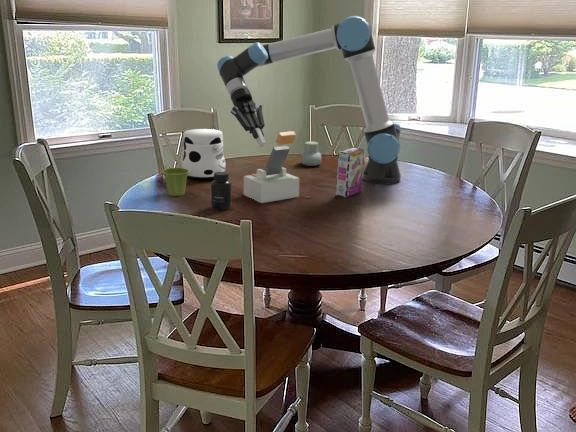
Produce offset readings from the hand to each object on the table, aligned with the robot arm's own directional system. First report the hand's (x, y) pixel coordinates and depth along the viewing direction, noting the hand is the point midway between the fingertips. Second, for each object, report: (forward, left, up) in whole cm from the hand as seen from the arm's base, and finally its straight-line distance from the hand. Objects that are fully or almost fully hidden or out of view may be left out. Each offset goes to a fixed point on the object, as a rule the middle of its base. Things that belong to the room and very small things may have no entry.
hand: (262, 144), depth 214 cm
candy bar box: (-27, -16, -18) cm, 37 cm away
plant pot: (+24, +21, -18) cm, 36 cm away
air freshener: (+7, -49, -18) cm, 53 cm away
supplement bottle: (+1, +25, -18) cm, 30 cm away
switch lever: (-5, +3, -9) cm, 11 cm away
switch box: (-5, +3, -18) cm, 19 cm away
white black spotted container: (+32, -5, -18) cm, 37 cm away
